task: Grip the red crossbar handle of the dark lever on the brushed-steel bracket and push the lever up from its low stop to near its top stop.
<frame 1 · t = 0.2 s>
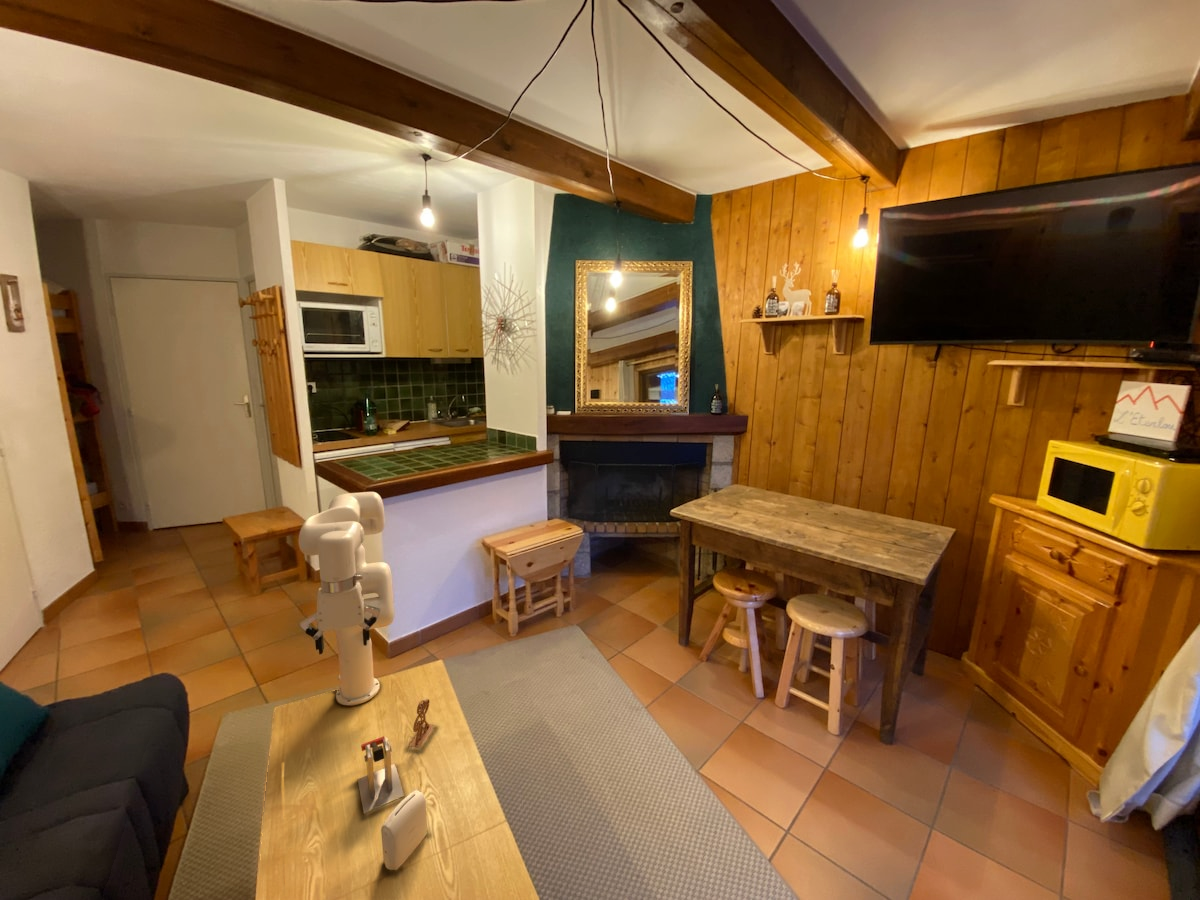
hand: (343, 646, 118), 37 cm above the table, tool pointing down, fingers open, 9 cm apart
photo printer: (406, 851, 106), on the table
lever: (375, 748, 122), point 9 cm above the table, hinge at -25.0°
brown filigree ornament: (422, 739, 137), on the table
bracket: (380, 791, 120), on the table
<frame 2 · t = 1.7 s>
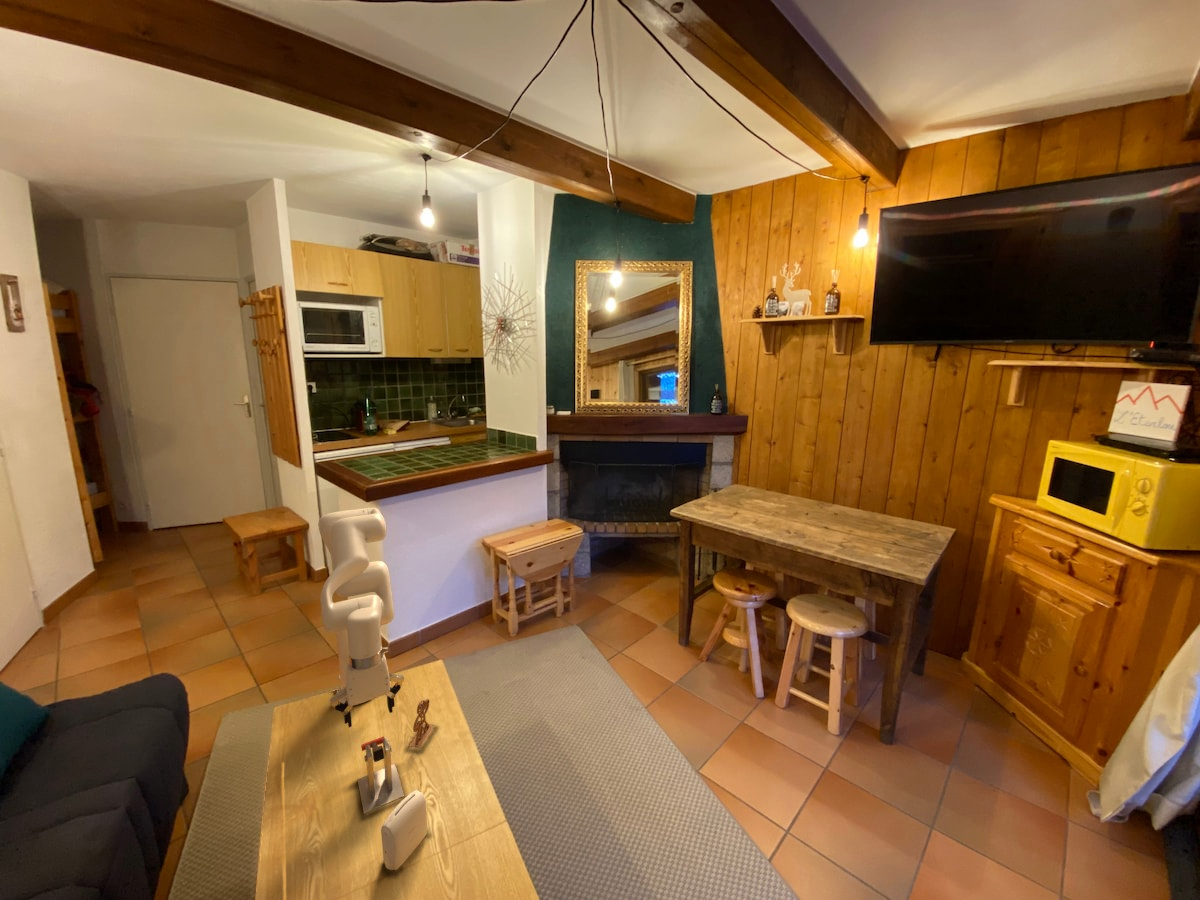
hand: (370, 716, 124), 15 cm above the table, tool pointing down, fingers open, 9 cm apart
nothing on the table moved.
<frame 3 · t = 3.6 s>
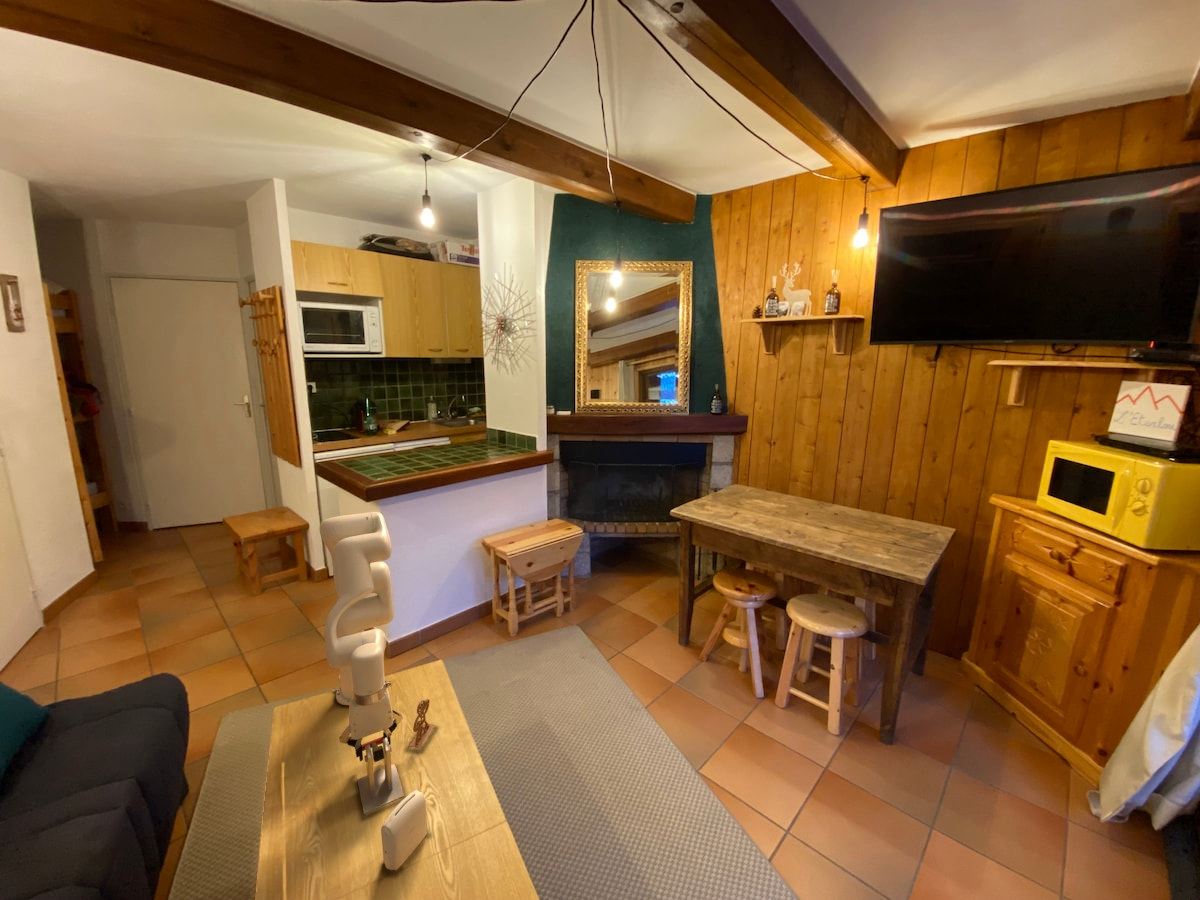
hand: (373, 751, 127), 4 cm above the table, tool pointing down, fingers closed on lever, 5 cm apart
lever: (375, 748, 122), point 9 cm above the table, hinge at -25.0°, touching gripper
everything else where it was.
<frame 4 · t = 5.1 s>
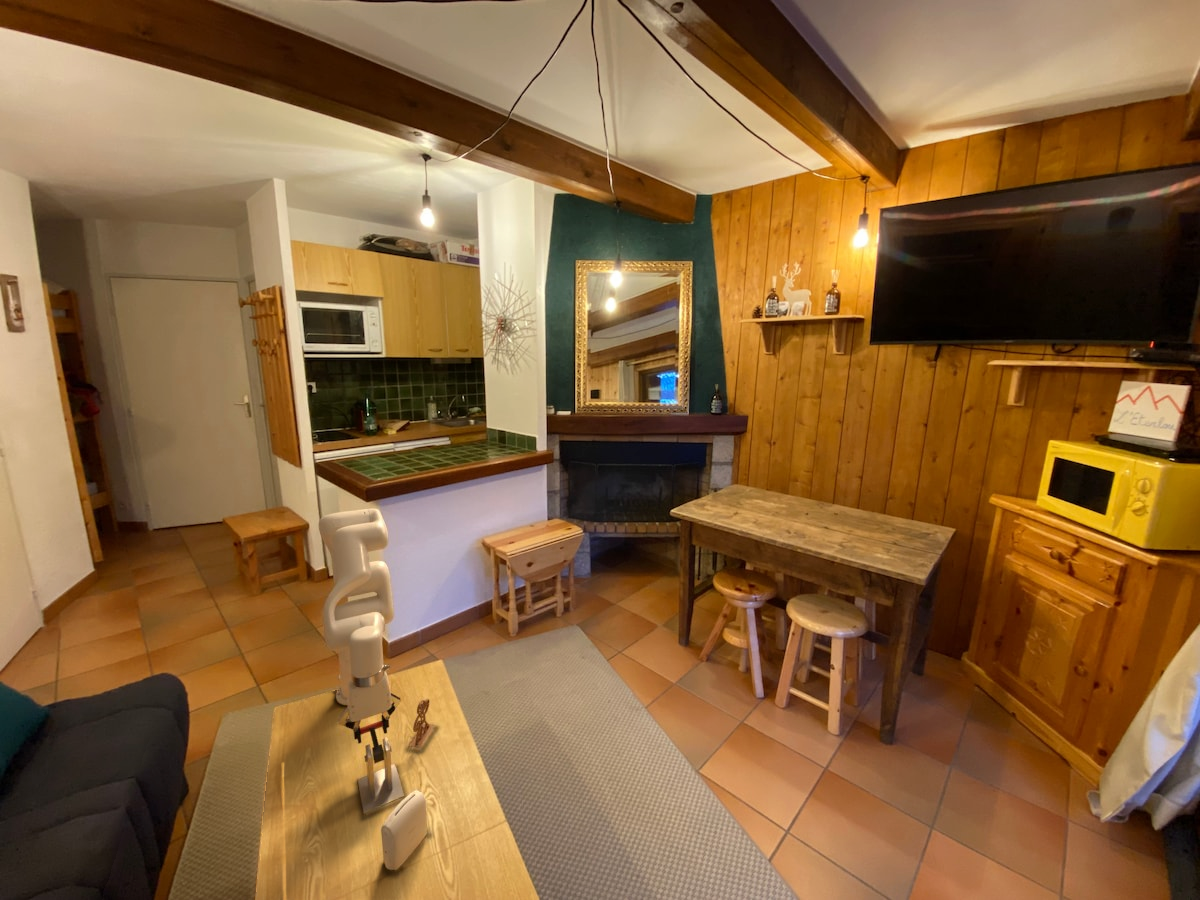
hand: (371, 734, 127), 9 cm above the table, tool pointing down, fingers closed on lever, 5 cm apart
lever: (374, 740, 122), point 11 cm above the table, hinge at 0.1°, touching gripper
everything else where it was.
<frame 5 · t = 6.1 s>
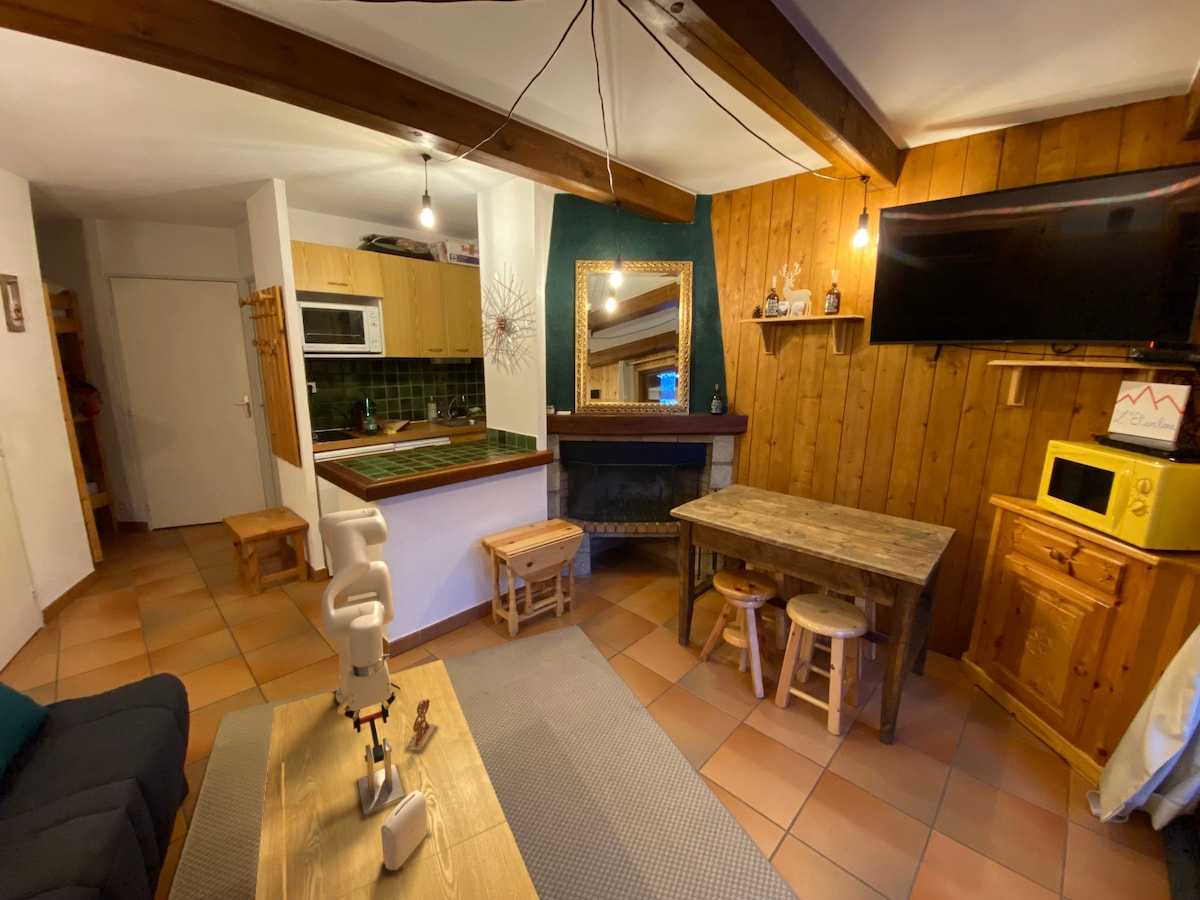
hand: (371, 723, 126), 12 cm above the table, tool pointing down, fingers closed on lever, 5 cm apart
lever: (374, 736, 121), point 13 cm above the table, hinge at 19.8°, touching gripper
everything else where it was.
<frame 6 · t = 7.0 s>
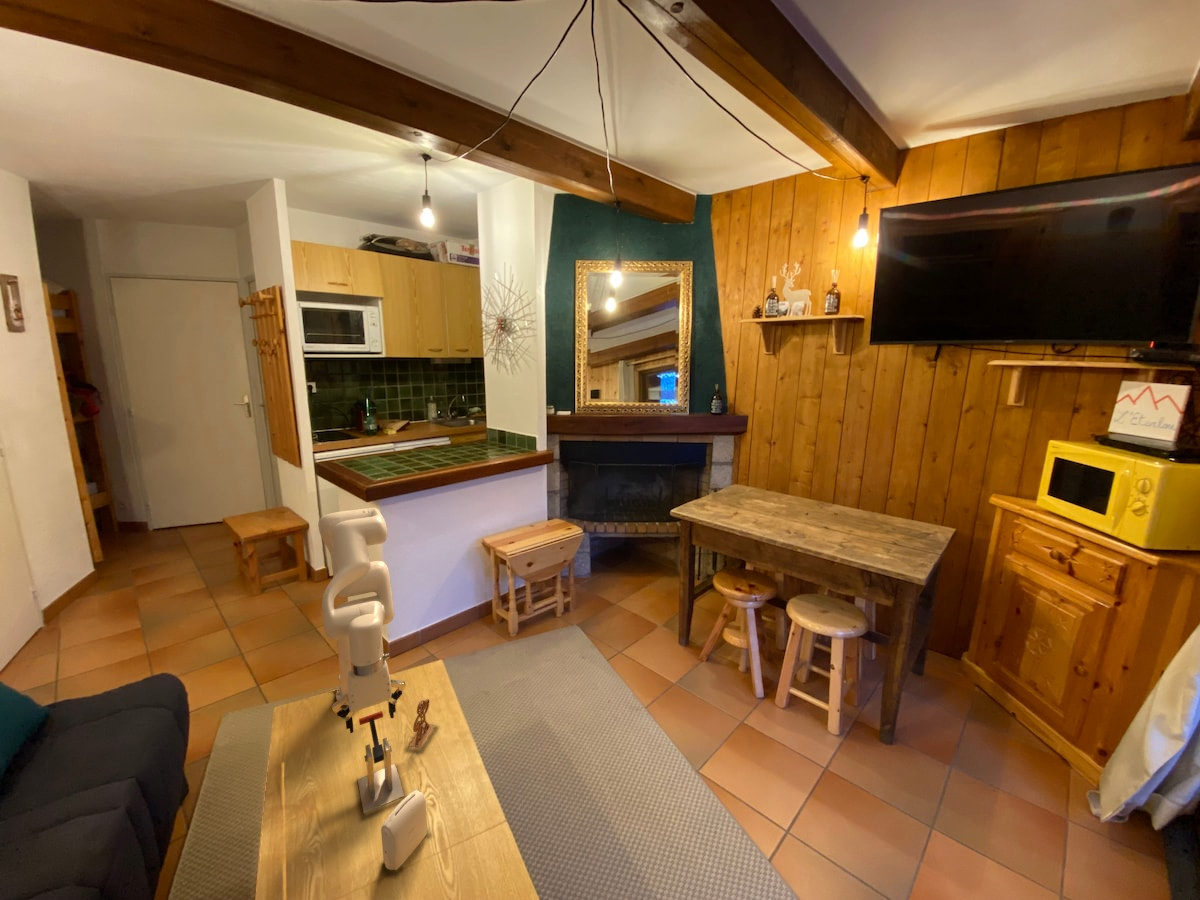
hand: (371, 722, 125), 13 cm above the table, tool pointing down, fingers open, 9 cm apart
lever: (374, 736, 121), point 13 cm above the table, hinge at 19.0°
everything else where it was.
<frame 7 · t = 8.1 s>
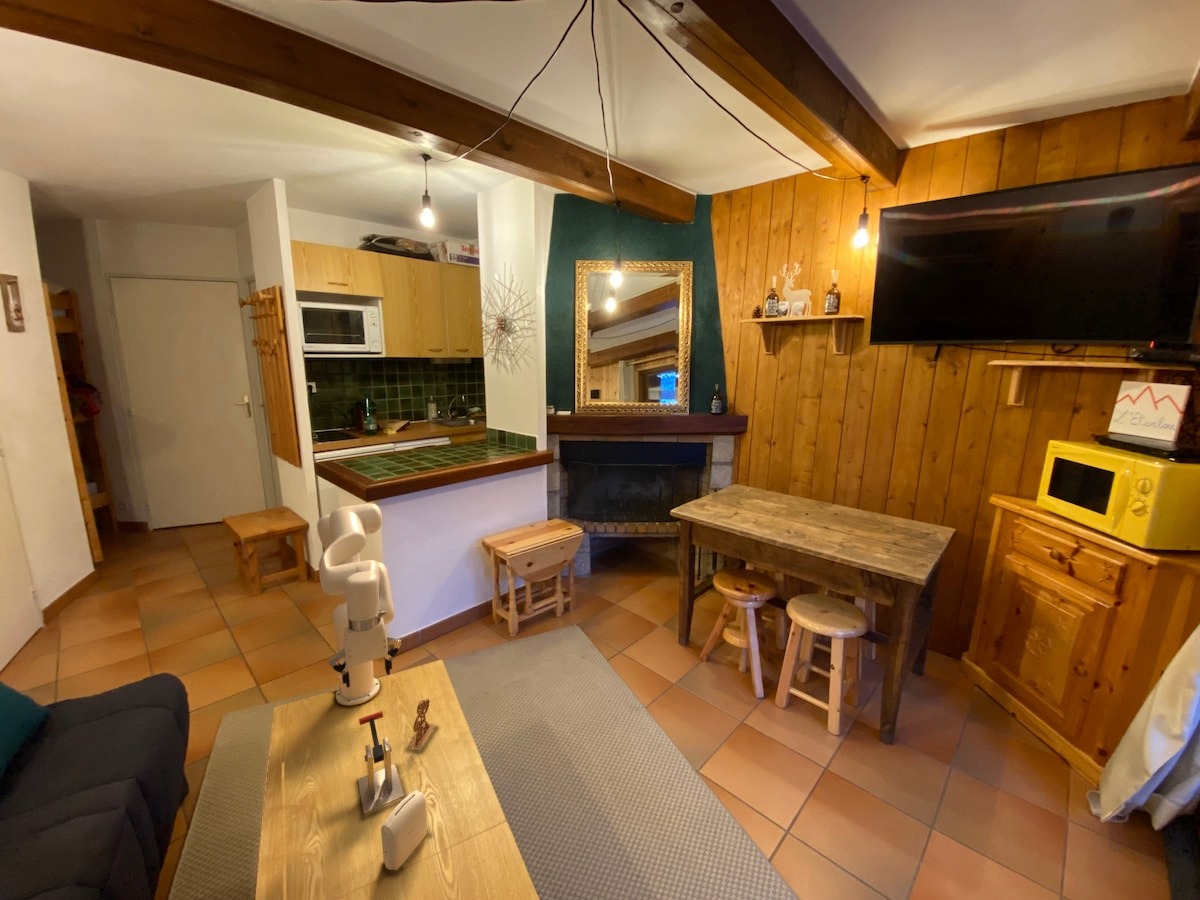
hand: (368, 677, 127), 24 cm above the table, tool pointing down, fingers open, 9 cm apart
nothing on the table moved.
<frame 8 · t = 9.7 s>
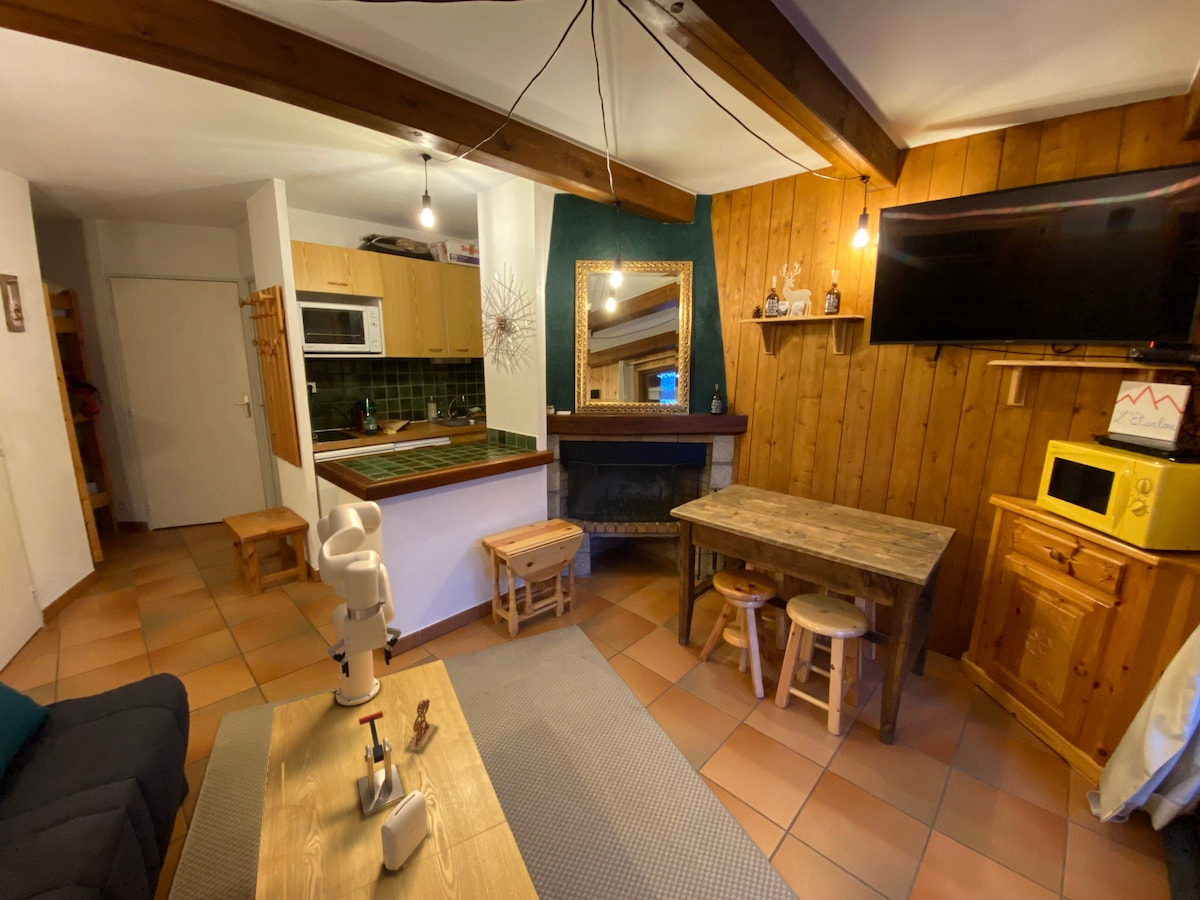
hand: (367, 668, 126), 26 cm above the table, tool pointing down, fingers open, 9 cm apart
nothing on the table moved.
at the end: lever at +19° (first picture: -25°) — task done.
